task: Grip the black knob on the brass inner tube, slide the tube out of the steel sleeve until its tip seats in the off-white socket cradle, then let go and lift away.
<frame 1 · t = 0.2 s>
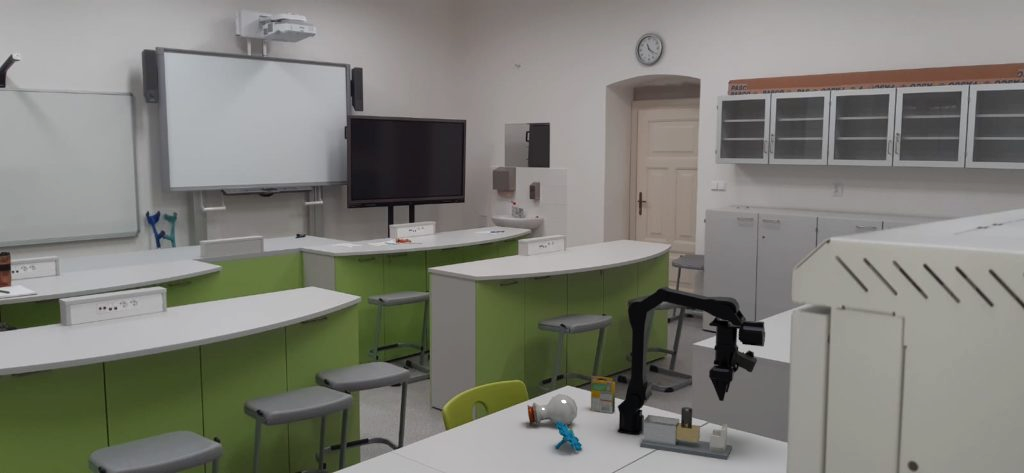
hand: (723, 396, 225), 14 cm above the worktop, fingers open, 9 cm apart
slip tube: (674, 421, 224), point 7 cm above the worktop, slide at 0.0 cm
sleeve: (661, 444, 226), resting on board
socket: (718, 452, 220), resting on board
board: (685, 447, 223), on the worktop
gear: (568, 449, 222), on the worktop
crayon box: (602, 411, 257), on the worktop
potion bottle: (552, 425, 242), on the worktop
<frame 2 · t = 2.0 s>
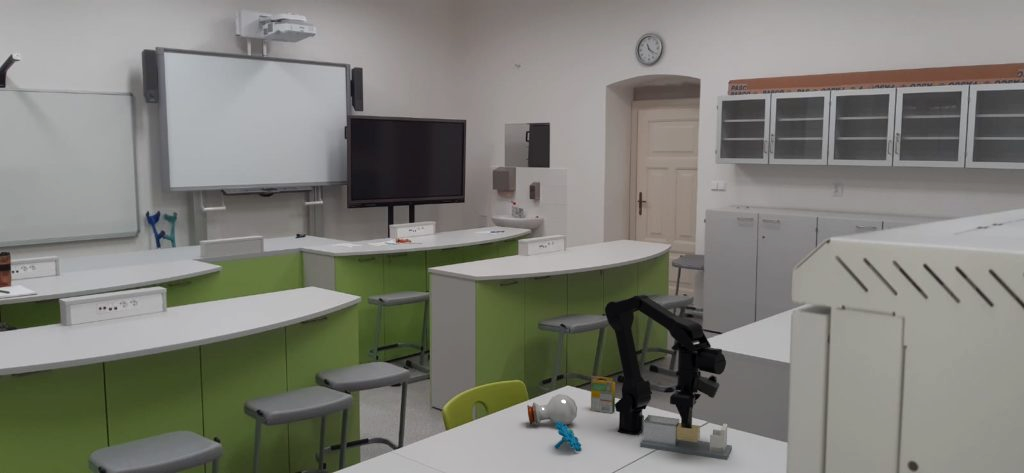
hand: (686, 421, 223), 8 cm above the worktop, fingers closed on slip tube, 3 cm apart
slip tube: (674, 421, 224), point 7 cm above the worktop, slide at 0.0 cm, touching gripper
everything else where it was.
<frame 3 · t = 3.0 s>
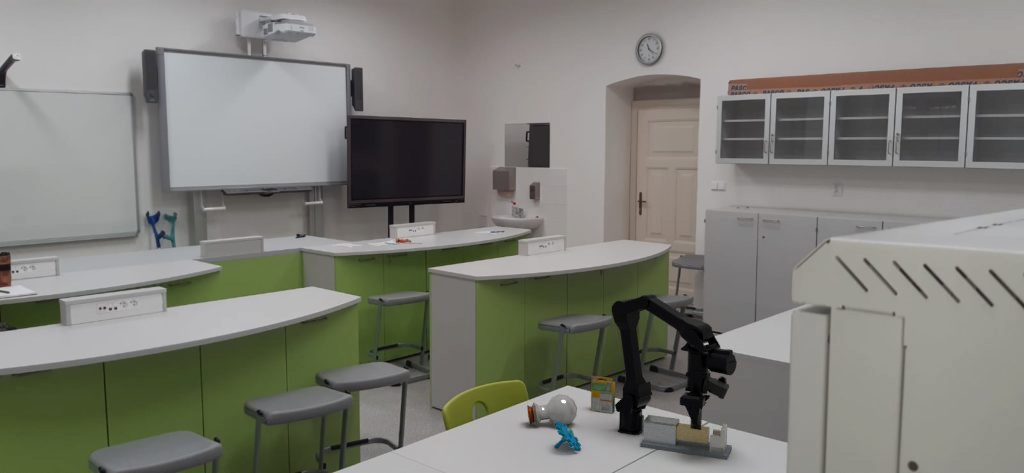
hand: (696, 423, 222), 8 cm above the worktop, fingers closed on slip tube, 3 cm apart
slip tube: (683, 423, 223), point 7 cm above the worktop, slide at 2.6 cm, touching gripper
everything else where it was.
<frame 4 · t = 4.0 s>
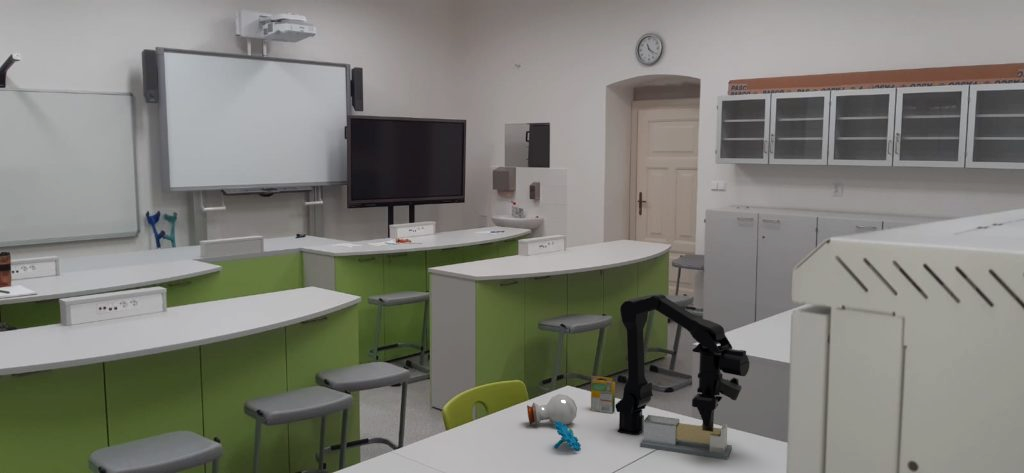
hand: (708, 424, 220), 8 cm above the worktop, fingers closed on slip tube, 3 cm apart
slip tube: (695, 424, 222), point 7 cm above the worktop, slide at 5.9 cm, touching gripper
everything else where it was.
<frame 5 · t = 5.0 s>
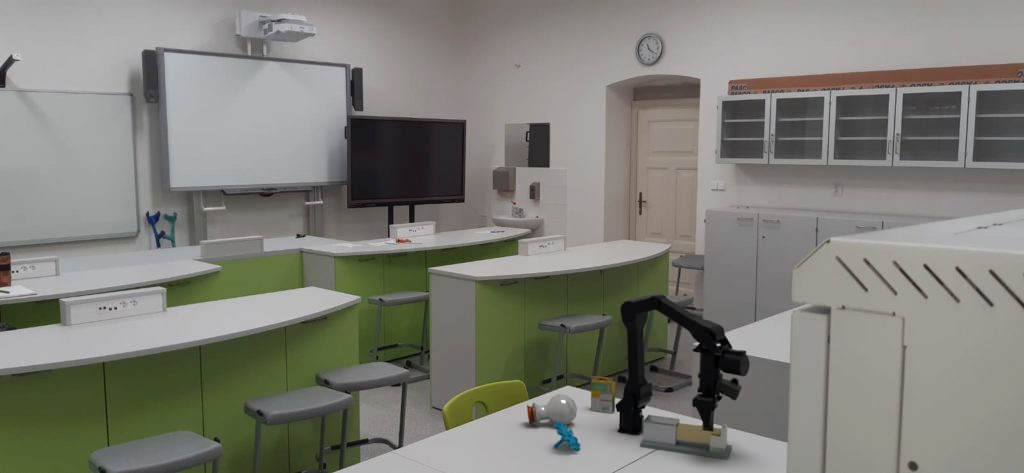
hand: (708, 424, 220), 8 cm above the worktop, fingers open, 5 cm apart
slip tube: (695, 424, 222), point 7 cm above the worktop, slide at 5.9 cm
everything else where it was.
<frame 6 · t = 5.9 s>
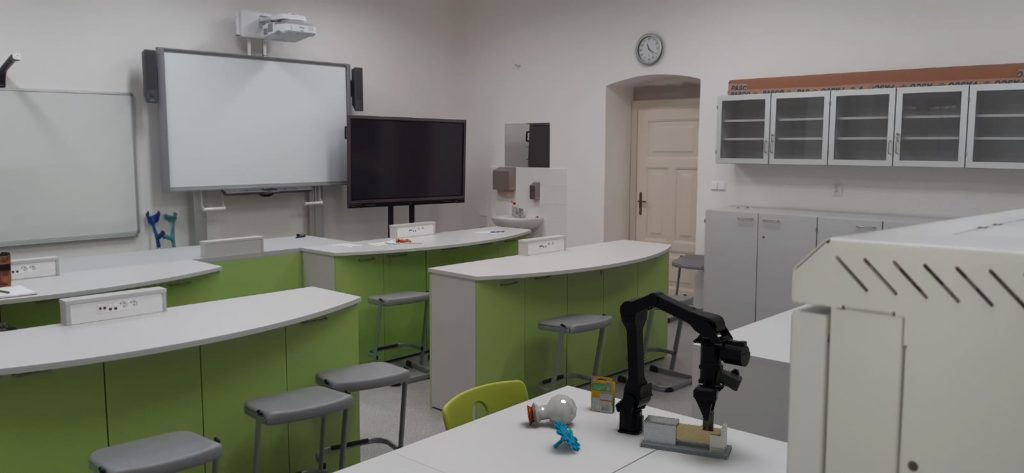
hand: (709, 415, 220), 10 cm above the worktop, fingers open, 9 cm apart
nothing on the worktop moved.
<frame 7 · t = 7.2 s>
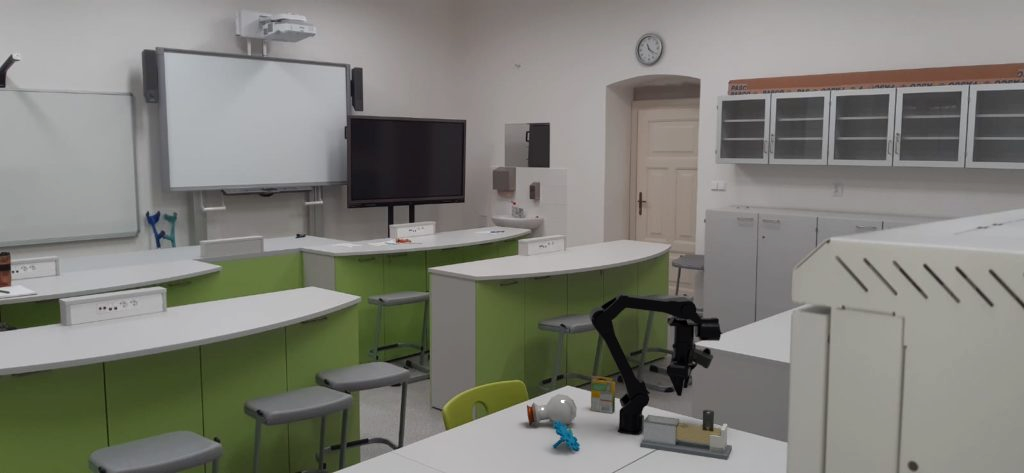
hand: (682, 391, 237), 12 cm above the worktop, fingers open, 9 cm apart
nothing on the worktop moved.
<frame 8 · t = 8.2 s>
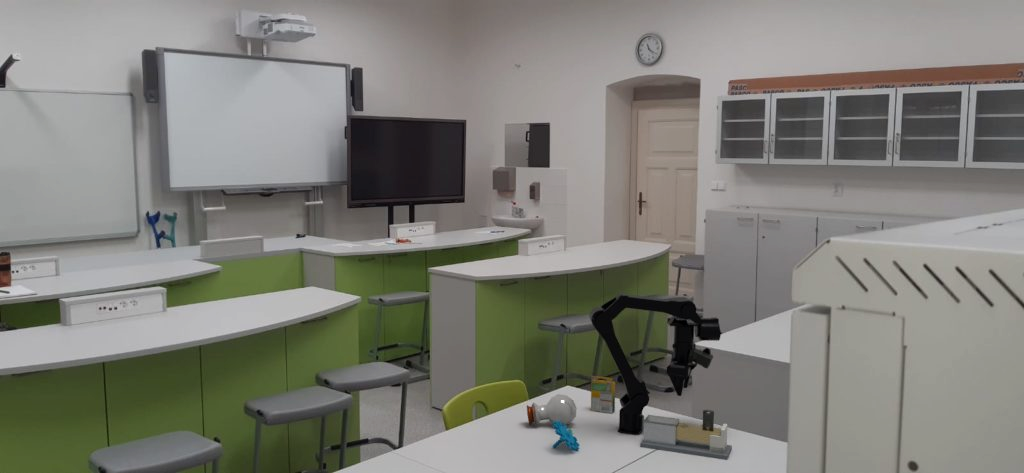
hand: (682, 391, 237), 12 cm above the worktop, fingers open, 9 cm apart
nothing on the worktop moved.
at the end: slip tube slide at 5.9 cm; the gripper is holding nothing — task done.
